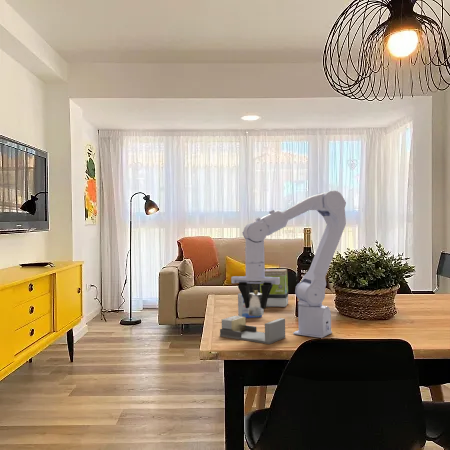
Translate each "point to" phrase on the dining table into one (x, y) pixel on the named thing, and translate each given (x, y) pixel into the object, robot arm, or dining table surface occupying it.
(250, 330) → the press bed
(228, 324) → the block
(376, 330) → the dining table surface
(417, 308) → the dining table surface
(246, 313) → the medicine box
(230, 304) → the dining table surface
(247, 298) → the robot arm
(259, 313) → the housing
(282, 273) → the tea box
